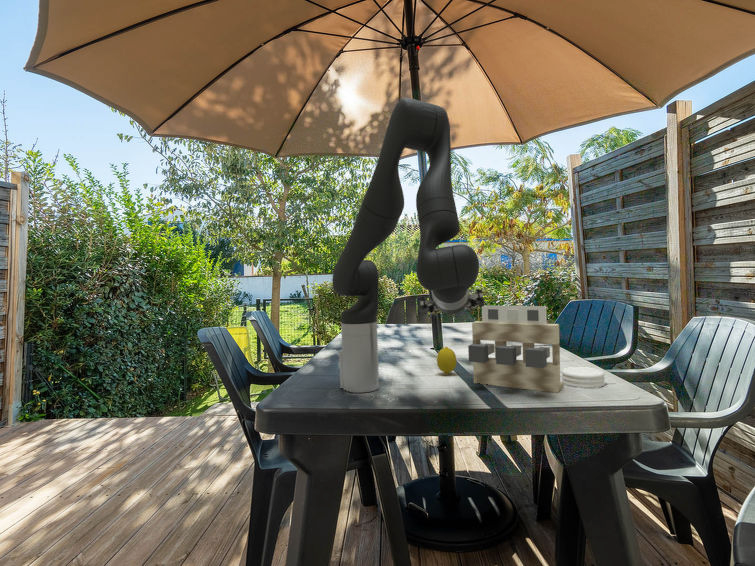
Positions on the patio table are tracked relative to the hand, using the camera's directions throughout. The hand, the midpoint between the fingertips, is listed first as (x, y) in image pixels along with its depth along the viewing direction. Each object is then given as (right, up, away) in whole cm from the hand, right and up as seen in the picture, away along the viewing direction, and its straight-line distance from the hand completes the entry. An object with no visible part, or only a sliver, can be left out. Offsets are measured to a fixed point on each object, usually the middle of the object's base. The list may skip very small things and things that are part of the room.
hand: (452, 309), depth 109 cm
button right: (+21, -13, 0) cm, 24 cm away
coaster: (+34, -20, +7) cm, 40 cm away
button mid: (+15, -13, +3) cm, 20 cm away
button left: (+9, -13, +7) cm, 18 cm away
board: (+18, -20, +7) cm, 27 cm away
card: (+16, -4, +5) cm, 17 cm away
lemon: (+2, -20, +22) cm, 29 cm away
